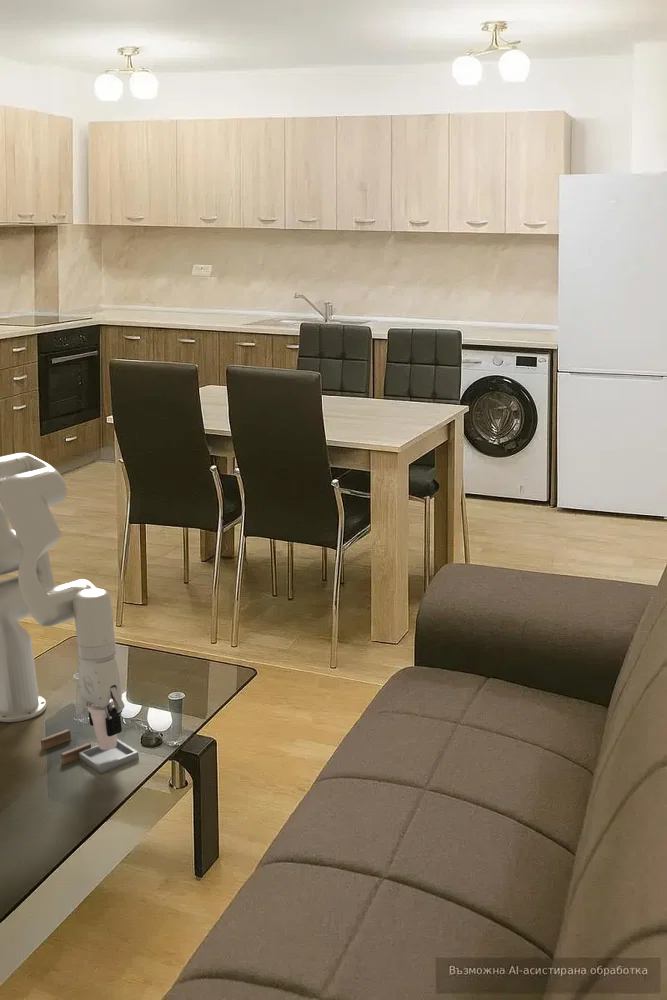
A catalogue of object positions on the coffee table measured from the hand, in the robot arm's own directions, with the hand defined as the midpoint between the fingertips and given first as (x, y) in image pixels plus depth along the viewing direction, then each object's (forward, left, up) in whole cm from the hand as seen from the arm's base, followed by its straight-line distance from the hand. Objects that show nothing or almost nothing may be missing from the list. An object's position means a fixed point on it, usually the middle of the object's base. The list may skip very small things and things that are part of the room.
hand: (105, 727), depth 230 cm
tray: (0, 0, -7) cm, 7 cm away
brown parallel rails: (-10, -5, -7) cm, 13 cm away
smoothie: (0, 0, -4) cm, 4 cm away
